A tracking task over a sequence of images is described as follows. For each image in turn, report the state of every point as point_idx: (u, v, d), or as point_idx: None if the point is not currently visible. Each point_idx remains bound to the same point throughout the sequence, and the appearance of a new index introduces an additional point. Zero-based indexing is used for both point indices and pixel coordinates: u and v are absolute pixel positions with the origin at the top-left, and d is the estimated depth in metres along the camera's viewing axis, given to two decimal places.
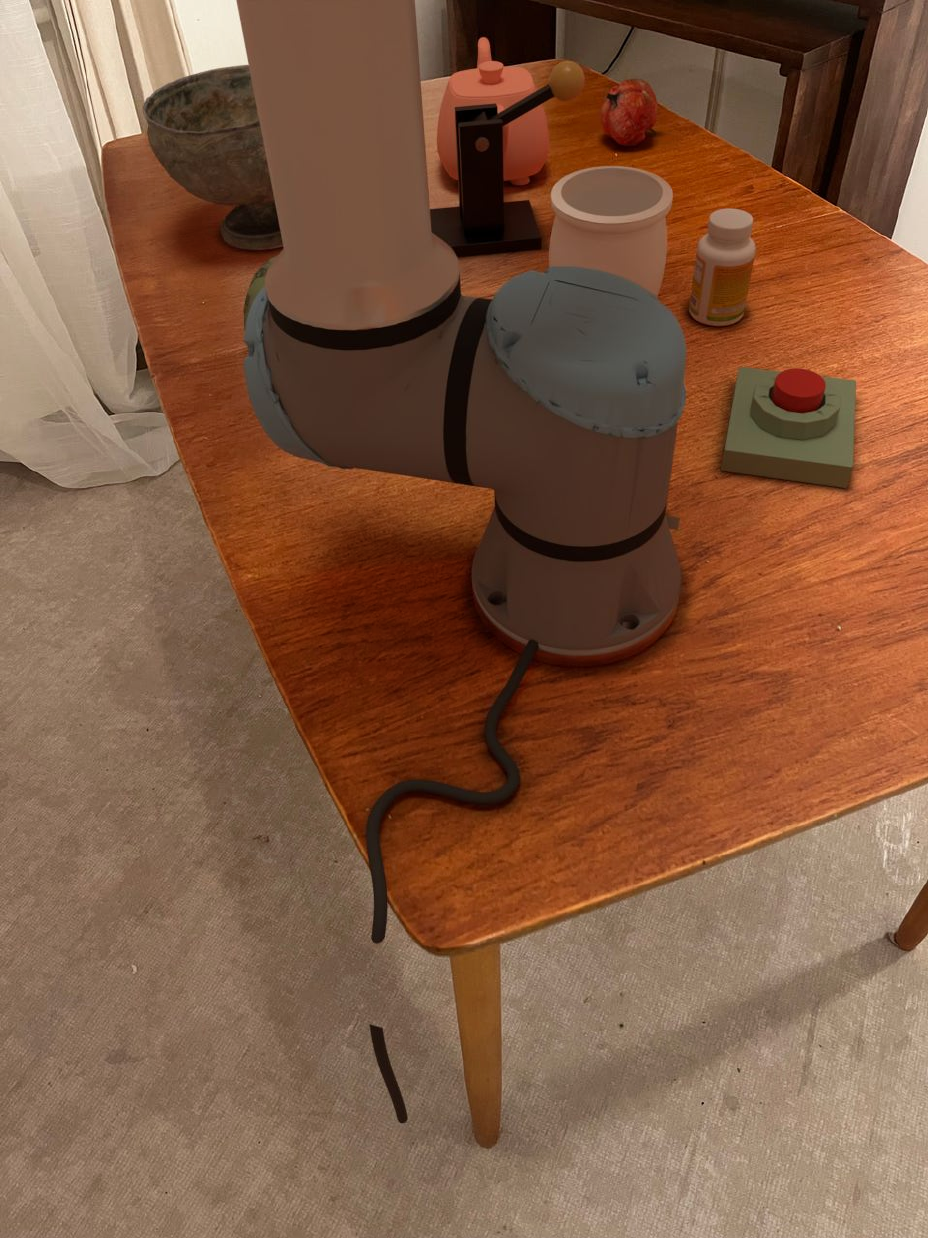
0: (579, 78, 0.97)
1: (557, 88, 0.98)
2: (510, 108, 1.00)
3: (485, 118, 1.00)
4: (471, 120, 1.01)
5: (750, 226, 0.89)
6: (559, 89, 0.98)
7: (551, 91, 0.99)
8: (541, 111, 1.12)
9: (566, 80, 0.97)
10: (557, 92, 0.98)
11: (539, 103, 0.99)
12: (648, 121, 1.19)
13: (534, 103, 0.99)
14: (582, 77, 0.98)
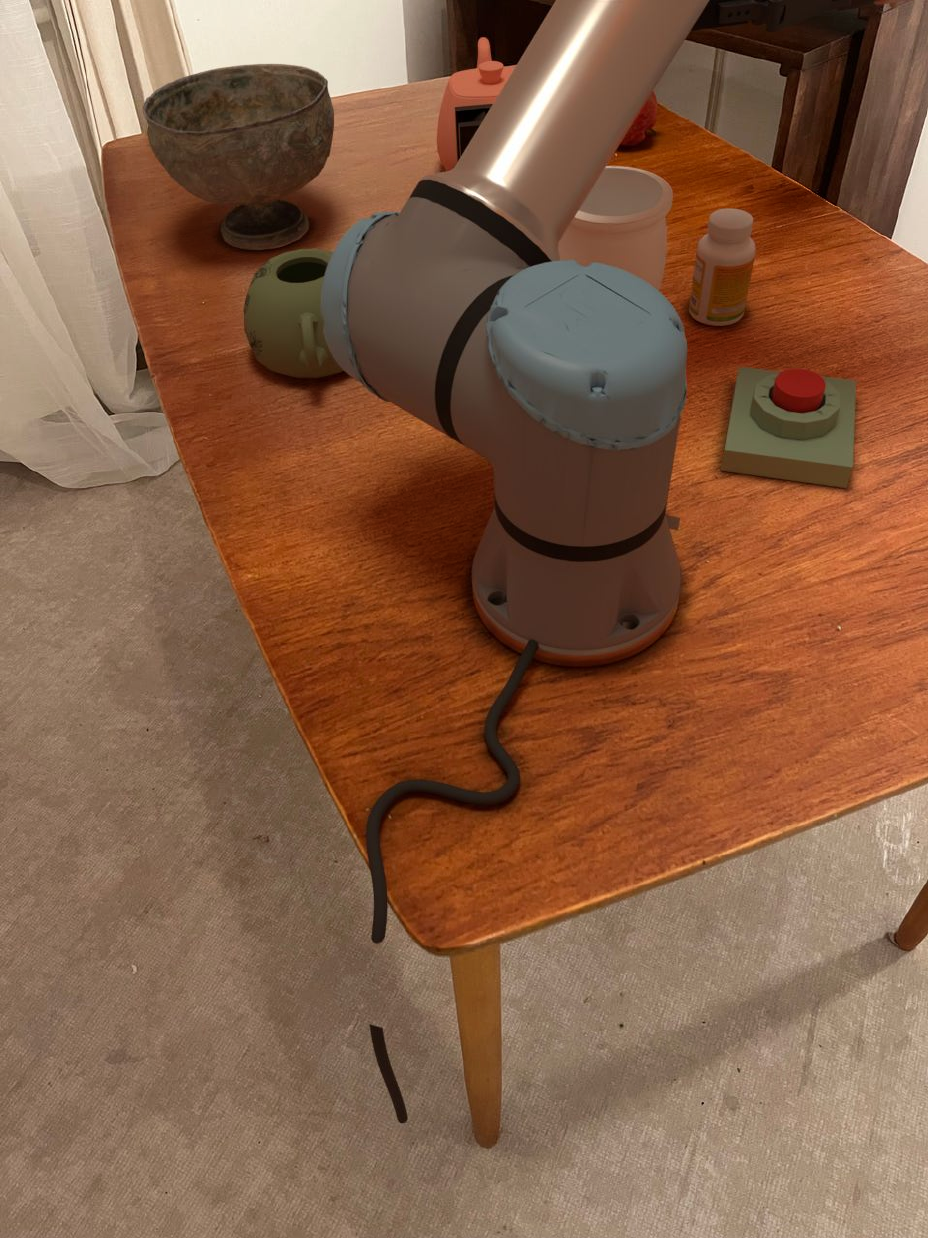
0: None
1: None
2: None
3: None
4: (471, 120, 1.01)
5: (750, 226, 0.89)
6: None
7: None
8: None
9: None
10: None
11: None
12: (648, 121, 1.19)
13: None
14: None
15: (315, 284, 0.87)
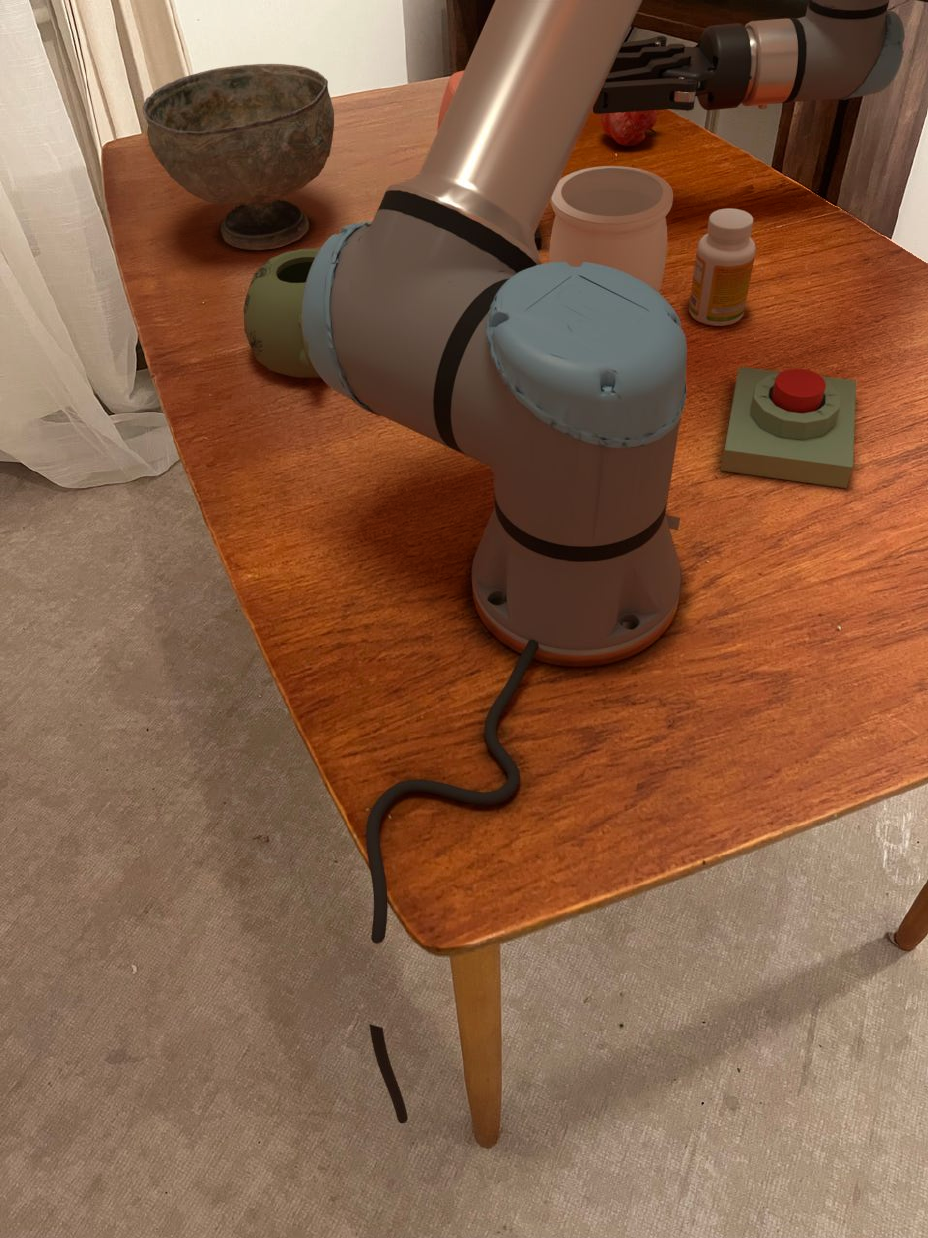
0: None
1: None
2: None
3: None
4: None
5: (750, 226, 0.89)
6: None
7: None
8: None
9: None
10: None
11: None
12: (648, 121, 1.19)
13: None
14: None
15: None
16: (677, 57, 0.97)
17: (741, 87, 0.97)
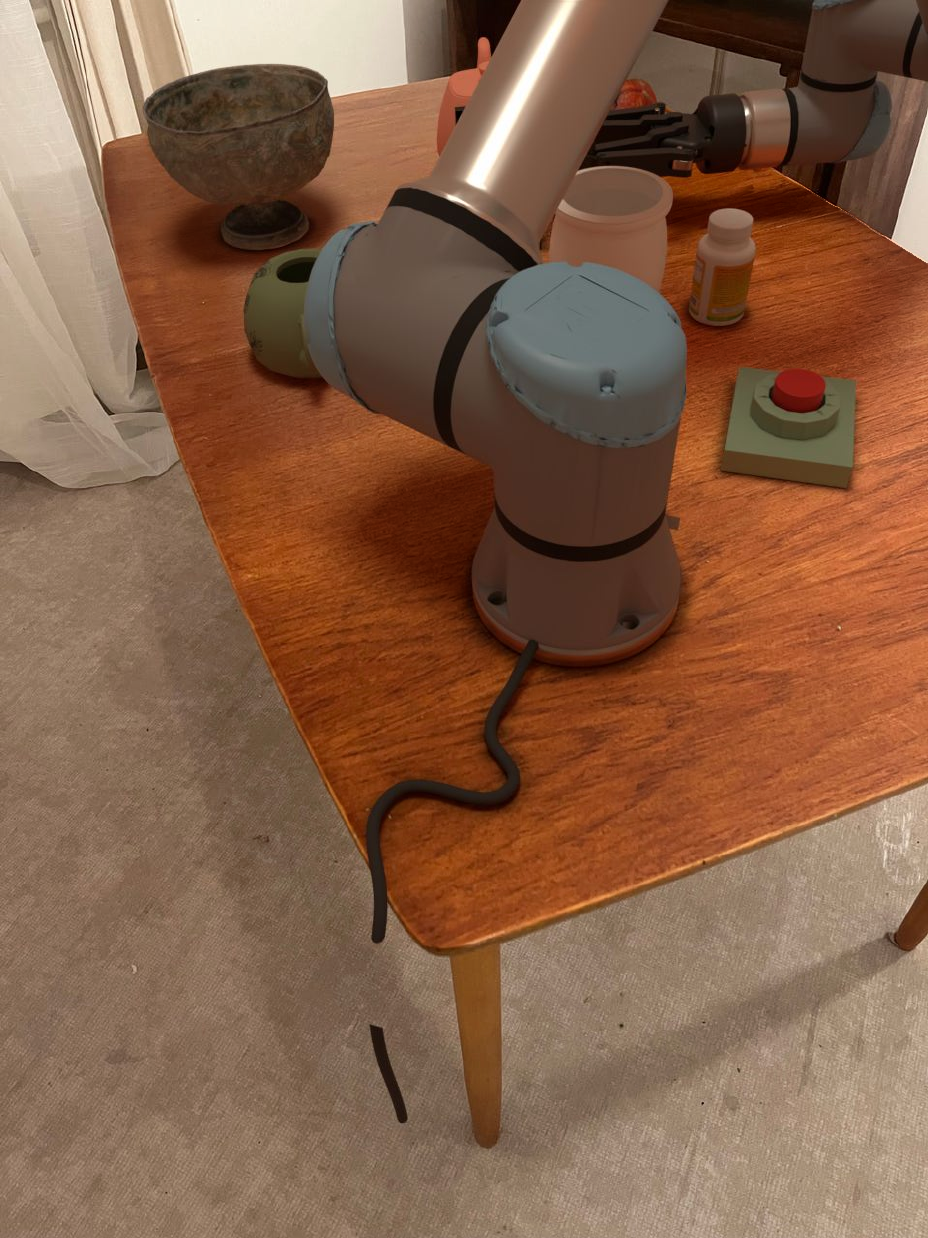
0: None
1: None
2: None
3: None
4: None
5: (750, 226, 0.89)
6: None
7: None
8: None
9: None
10: None
11: None
12: None
13: None
14: None
15: None
16: (675, 126, 1.02)
17: (736, 154, 1.02)
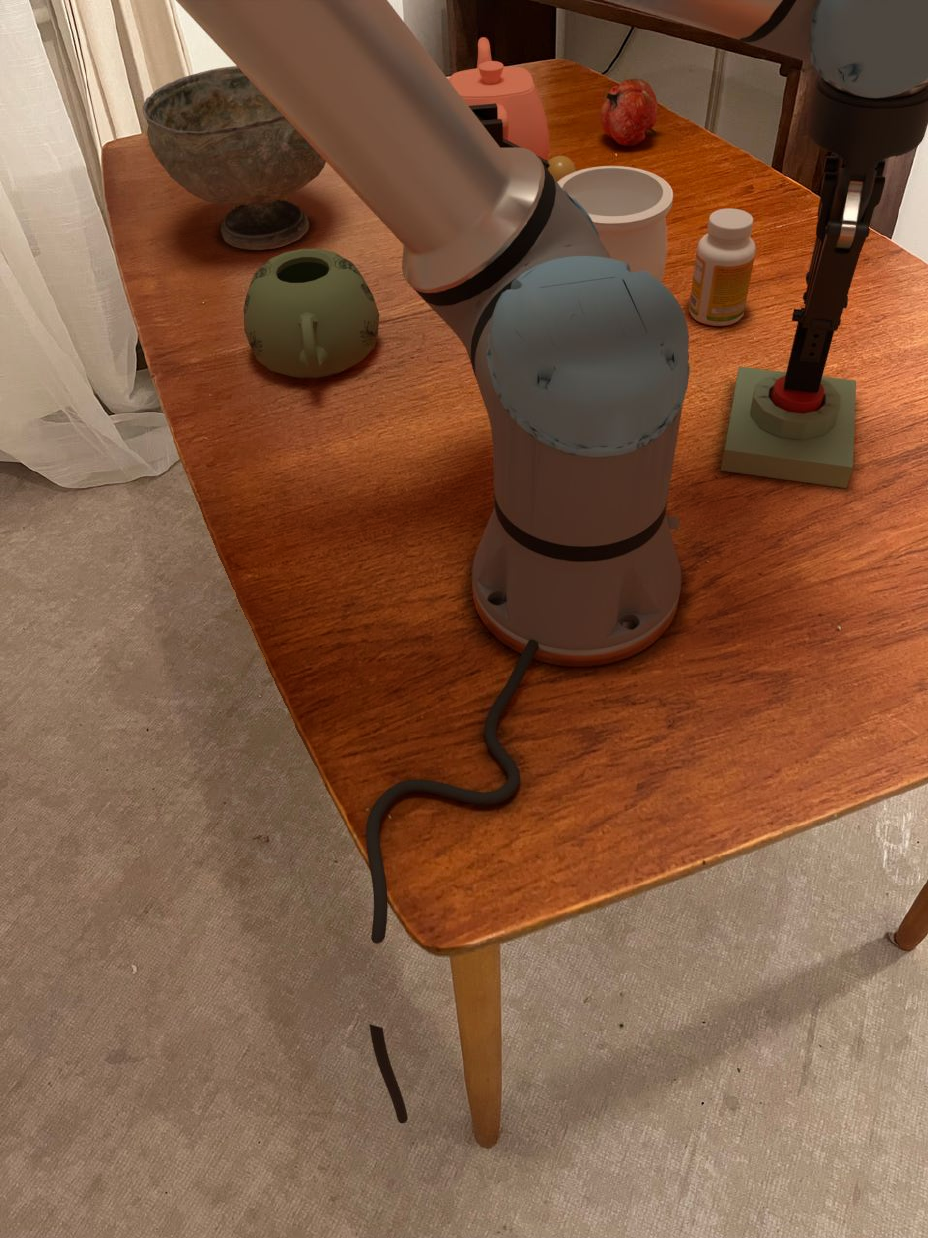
0: None
1: (554, 171, 1.04)
2: (514, 145, 1.03)
3: None
4: (482, 118, 1.01)
5: (750, 226, 0.89)
6: (555, 174, 1.04)
7: (547, 168, 1.04)
8: (541, 111, 1.12)
9: (565, 174, 1.04)
10: (551, 173, 1.04)
11: None
12: (648, 121, 1.19)
13: None
14: None
15: (315, 284, 0.87)
16: None
17: (884, 116, 0.61)
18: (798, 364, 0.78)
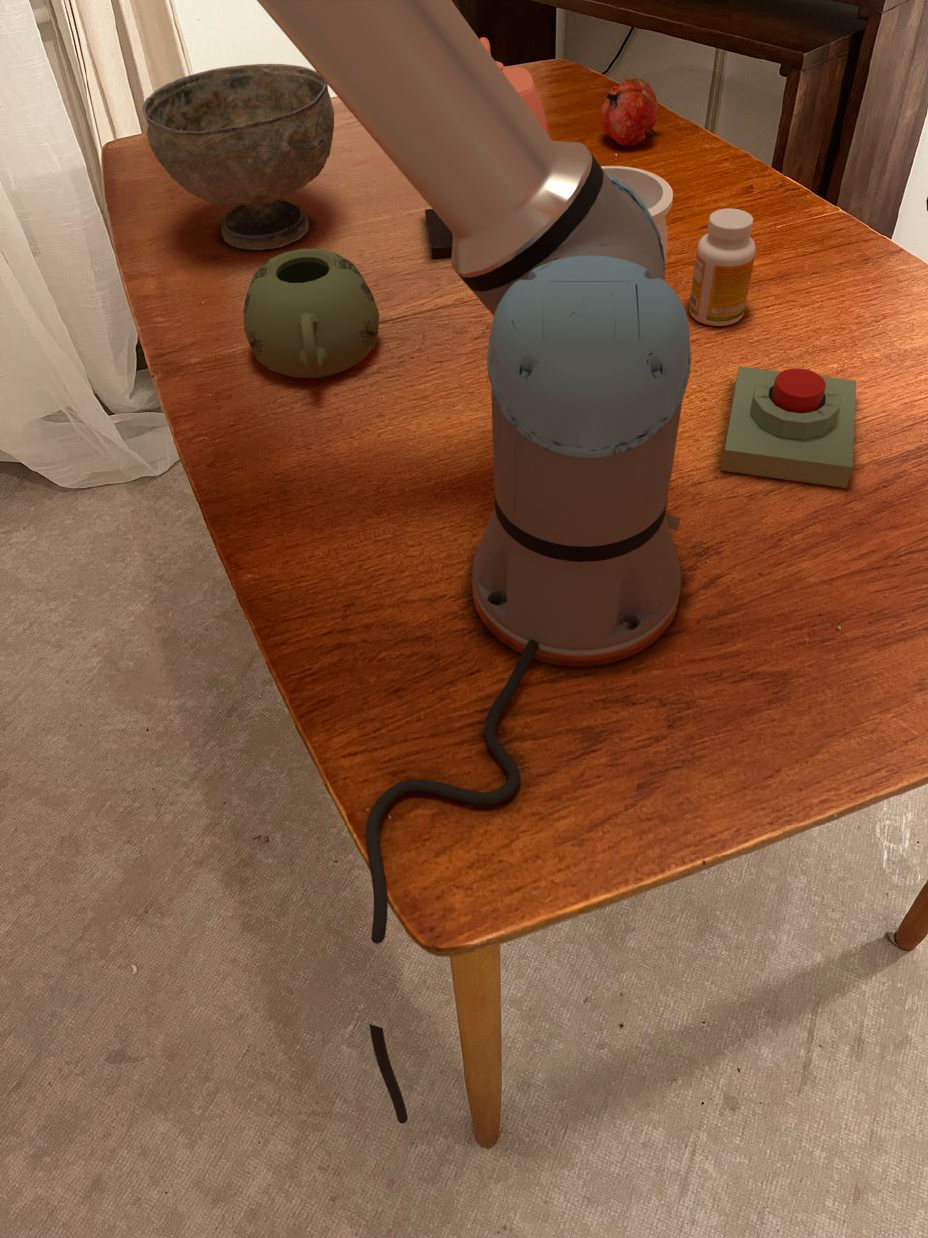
0: None
1: None
2: None
3: None
4: None
5: (750, 226, 0.89)
6: None
7: None
8: (541, 111, 1.12)
9: None
10: None
11: None
12: (648, 121, 1.19)
13: None
14: None
15: (315, 284, 0.87)
16: None
17: None
18: None
